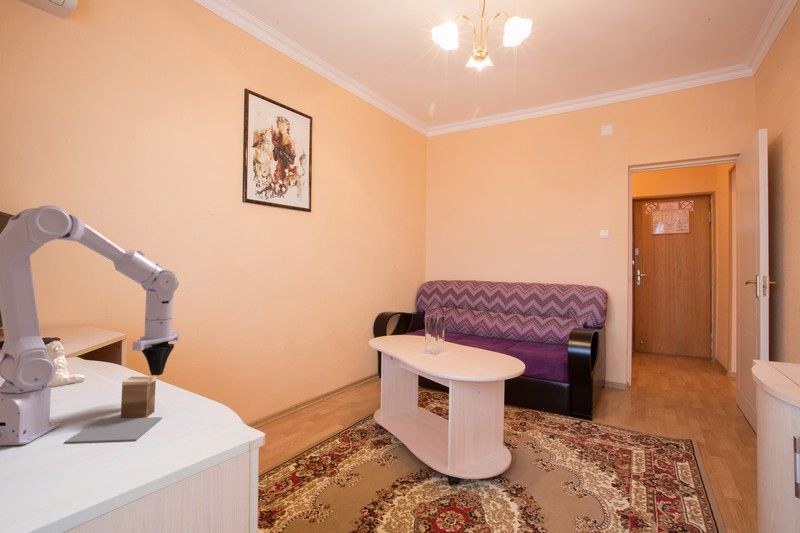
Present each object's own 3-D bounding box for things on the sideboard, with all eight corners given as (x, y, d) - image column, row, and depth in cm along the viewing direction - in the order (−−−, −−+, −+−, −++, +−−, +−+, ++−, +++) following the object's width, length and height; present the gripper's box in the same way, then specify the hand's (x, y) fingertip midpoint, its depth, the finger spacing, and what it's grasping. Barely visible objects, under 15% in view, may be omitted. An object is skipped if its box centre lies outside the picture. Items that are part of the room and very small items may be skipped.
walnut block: (146, 418, 85) (147, 381, 85) (120, 418, 84) (122, 381, 85) (154, 411, 89) (155, 376, 89) (130, 412, 88) (131, 376, 88)
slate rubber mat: (136, 440, 74) (136, 439, 74) (64, 443, 72) (64, 441, 72) (162, 418, 85) (162, 417, 85) (100, 420, 83) (100, 418, 83)
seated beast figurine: (86, 381, 110) (88, 339, 111) (54, 390, 102) (57, 344, 102) (59, 378, 112) (61, 337, 112) (25, 387, 104) (27, 341, 104)
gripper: (162, 315, 103) (160, 366, 103) (120, 321, 89) (118, 382, 88) (188, 316, 103) (186, 367, 102) (150, 323, 88) (148, 383, 88)
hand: (156, 374), depth 95 cm, fingers closed
